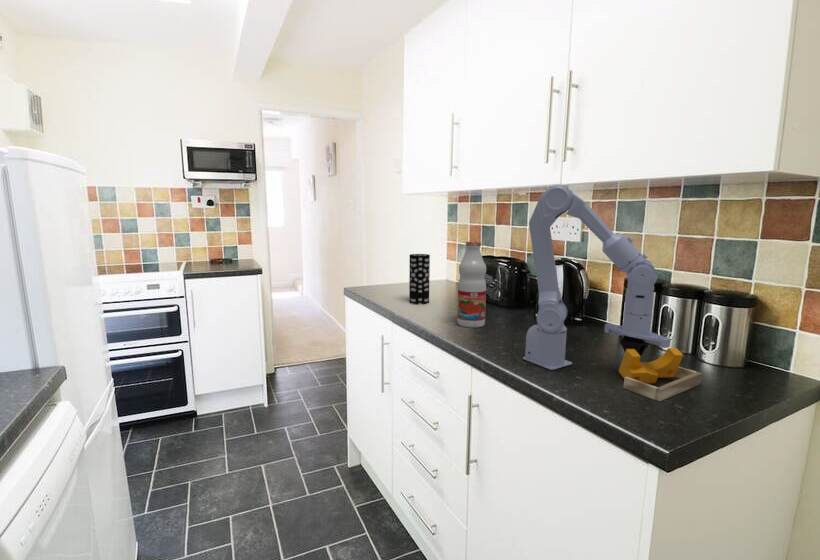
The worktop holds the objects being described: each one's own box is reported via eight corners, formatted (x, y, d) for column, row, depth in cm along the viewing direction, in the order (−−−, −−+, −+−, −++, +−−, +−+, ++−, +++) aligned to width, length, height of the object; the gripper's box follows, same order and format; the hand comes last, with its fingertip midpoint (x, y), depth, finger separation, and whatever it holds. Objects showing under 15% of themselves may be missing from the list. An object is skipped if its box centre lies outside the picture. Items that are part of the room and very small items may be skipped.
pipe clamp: (628, 384, 96) (636, 361, 93) (618, 371, 100) (626, 349, 96) (678, 382, 97) (688, 360, 94) (666, 369, 101) (676, 347, 97)
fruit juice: (483, 321, 149) (486, 241, 145) (486, 328, 140) (489, 243, 135) (456, 320, 150) (458, 240, 145) (457, 327, 141) (459, 242, 136)
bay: (623, 388, 94) (624, 377, 93) (665, 372, 103) (666, 362, 102) (659, 401, 87) (660, 390, 87) (700, 383, 96) (702, 373, 96)
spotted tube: (428, 300, 183) (428, 253, 180) (430, 304, 175) (430, 256, 172) (408, 300, 183) (408, 253, 179) (410, 304, 174) (410, 256, 171)
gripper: (680, 317, 94) (673, 375, 97) (618, 304, 106) (613, 356, 109) (663, 321, 91) (656, 382, 93) (601, 308, 103) (596, 361, 105)
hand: (632, 368), depth 101 cm, fingers closed, pressing on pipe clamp
